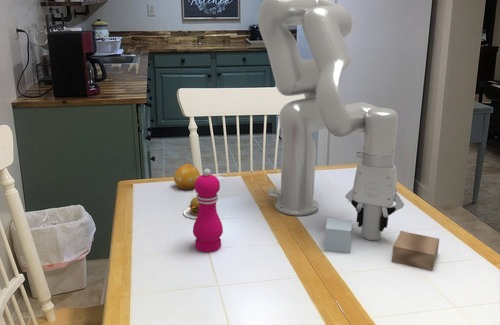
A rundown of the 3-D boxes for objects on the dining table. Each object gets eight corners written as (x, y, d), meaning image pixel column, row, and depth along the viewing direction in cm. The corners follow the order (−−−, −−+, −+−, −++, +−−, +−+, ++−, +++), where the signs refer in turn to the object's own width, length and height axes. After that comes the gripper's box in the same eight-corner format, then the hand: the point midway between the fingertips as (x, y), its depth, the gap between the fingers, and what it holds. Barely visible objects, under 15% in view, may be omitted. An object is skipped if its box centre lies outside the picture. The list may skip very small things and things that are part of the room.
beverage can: (380, 242, 128) (385, 197, 124) (361, 240, 129) (365, 195, 125) (380, 233, 132) (384, 190, 129) (361, 232, 133) (364, 189, 130)
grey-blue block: (324, 251, 123) (325, 228, 122) (325, 240, 129) (327, 218, 127) (349, 253, 122) (351, 230, 120) (350, 242, 128) (351, 220, 126)
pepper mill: (227, 242, 127) (227, 166, 121) (216, 255, 120) (215, 175, 114) (200, 237, 129) (199, 162, 123) (188, 250, 123) (186, 171, 116)
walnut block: (391, 261, 119) (393, 245, 117) (399, 245, 126) (400, 230, 125) (432, 270, 115) (434, 254, 113) (437, 253, 122) (439, 238, 121)
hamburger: (169, 214, 144) (168, 196, 143) (202, 203, 152) (202, 186, 150) (195, 228, 136) (194, 209, 134) (229, 216, 144) (229, 198, 142)
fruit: (193, 173, 169) (184, 156, 164) (209, 181, 164) (199, 164, 159) (176, 190, 166) (165, 173, 161) (190, 199, 161) (180, 182, 156)
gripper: (339, 158, 125) (334, 226, 130) (410, 168, 117) (402, 240, 123) (348, 150, 131) (343, 215, 137) (416, 160, 124) (408, 228, 129)
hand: (371, 226), depth 130 cm, fingers closed on beverage can, 4 cm apart
